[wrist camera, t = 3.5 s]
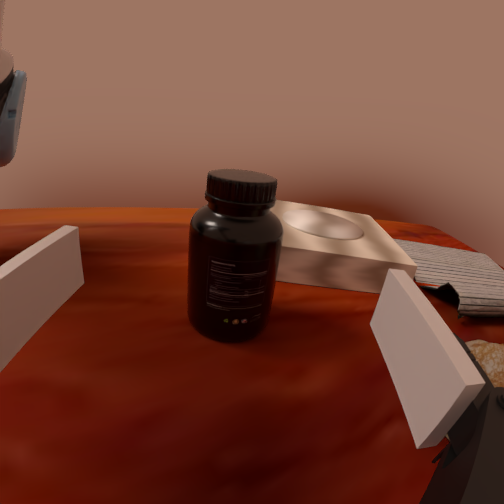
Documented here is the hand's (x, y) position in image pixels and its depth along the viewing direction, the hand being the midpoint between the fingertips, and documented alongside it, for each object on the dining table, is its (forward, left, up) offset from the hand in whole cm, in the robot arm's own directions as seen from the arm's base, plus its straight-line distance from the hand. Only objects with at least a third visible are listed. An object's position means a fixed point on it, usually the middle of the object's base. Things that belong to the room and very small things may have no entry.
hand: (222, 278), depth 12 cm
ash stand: (+10, +29, -10) cm, 32 cm away
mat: (+35, +25, -10) cm, 44 cm away
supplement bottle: (0, +11, -10) cm, 14 cm away
